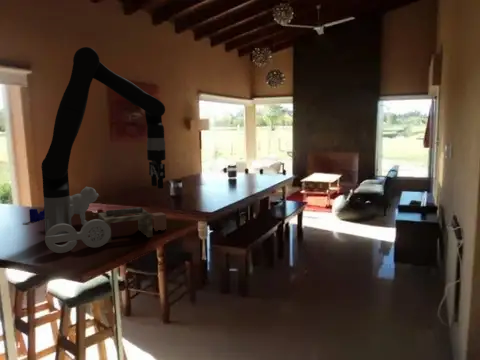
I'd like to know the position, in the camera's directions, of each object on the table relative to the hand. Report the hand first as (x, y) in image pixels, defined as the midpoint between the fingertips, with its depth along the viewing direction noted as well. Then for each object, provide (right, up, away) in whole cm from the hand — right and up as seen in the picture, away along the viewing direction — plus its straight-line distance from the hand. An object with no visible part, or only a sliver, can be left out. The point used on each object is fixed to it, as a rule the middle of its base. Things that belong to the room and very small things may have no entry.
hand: (157, 187), depth 173 cm
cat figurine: (-40, -18, +10) cm, 44 cm away
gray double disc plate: (-23, -22, -26) cm, 41 cm away
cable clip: (-61, -16, +23) cm, 67 cm away
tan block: (0, -18, +2) cm, 18 cm away
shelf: (-11, -20, -9) cm, 24 cm away
